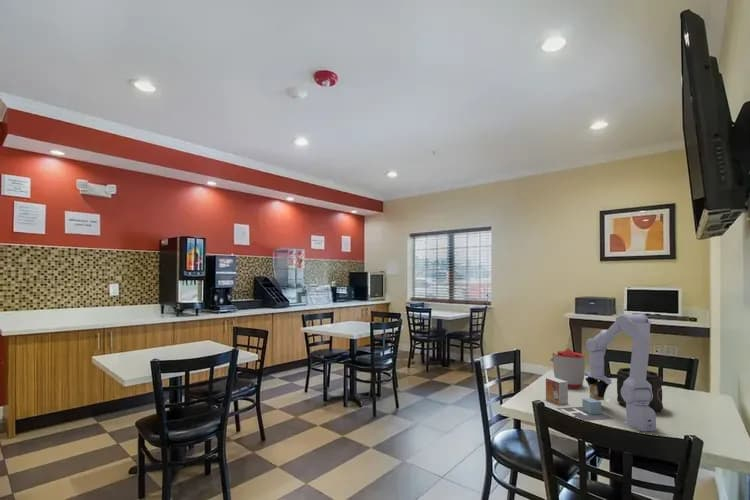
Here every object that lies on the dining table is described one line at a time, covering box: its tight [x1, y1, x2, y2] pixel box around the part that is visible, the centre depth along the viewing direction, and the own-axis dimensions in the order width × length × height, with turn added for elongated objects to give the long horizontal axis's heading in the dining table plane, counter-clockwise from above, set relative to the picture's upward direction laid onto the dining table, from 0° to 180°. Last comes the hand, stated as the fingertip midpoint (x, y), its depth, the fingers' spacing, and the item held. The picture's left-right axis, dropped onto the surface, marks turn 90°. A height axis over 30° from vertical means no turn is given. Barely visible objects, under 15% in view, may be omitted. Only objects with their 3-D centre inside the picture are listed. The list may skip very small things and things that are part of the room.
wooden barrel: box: [616, 367, 664, 414], centre depth 174 cm, size 18×18×16 cm
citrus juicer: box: [549, 347, 586, 390], centre depth 206 cm, size 16×17×20 cm
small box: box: [545, 376, 569, 405], centre depth 178 cm, size 8×6×10 cm
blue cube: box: [581, 397, 602, 414], centre depth 165 cm, size 5×5×5 cm
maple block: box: [589, 384, 605, 401], centre depth 173 cm, size 4×4×6 cm
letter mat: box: [556, 406, 615, 422], centre depth 163 cm, size 15×16×1 cm
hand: (597, 395), depth 173 cm, fingers closed on maple block, 4 cm apart
